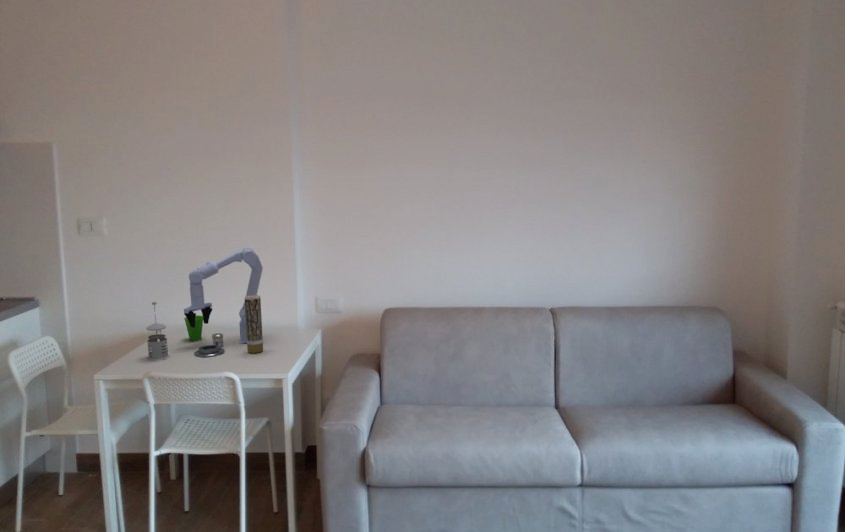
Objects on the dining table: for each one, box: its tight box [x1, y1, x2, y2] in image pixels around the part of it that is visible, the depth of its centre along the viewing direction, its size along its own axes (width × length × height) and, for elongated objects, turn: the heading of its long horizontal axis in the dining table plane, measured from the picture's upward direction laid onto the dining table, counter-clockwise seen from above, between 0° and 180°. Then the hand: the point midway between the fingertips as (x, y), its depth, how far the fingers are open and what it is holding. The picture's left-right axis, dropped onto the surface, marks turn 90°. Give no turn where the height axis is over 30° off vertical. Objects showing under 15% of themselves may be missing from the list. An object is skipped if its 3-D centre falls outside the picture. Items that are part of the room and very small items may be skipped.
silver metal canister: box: [212, 332, 224, 348], centre depth 293 cm, size 5×5×6 cm
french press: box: [145, 301, 171, 362], centre depth 276 cm, size 10×12×25 cm
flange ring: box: [193, 344, 226, 358], centre depth 284 cm, size 13×13×2 cm
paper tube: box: [244, 294, 264, 354], centre depth 283 cm, size 7×7×25 cm
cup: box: [183, 314, 204, 342], centre depth 305 cm, size 9×9×11 cm
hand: (199, 325), depth 294 cm, fingers open, 7 cm apart
